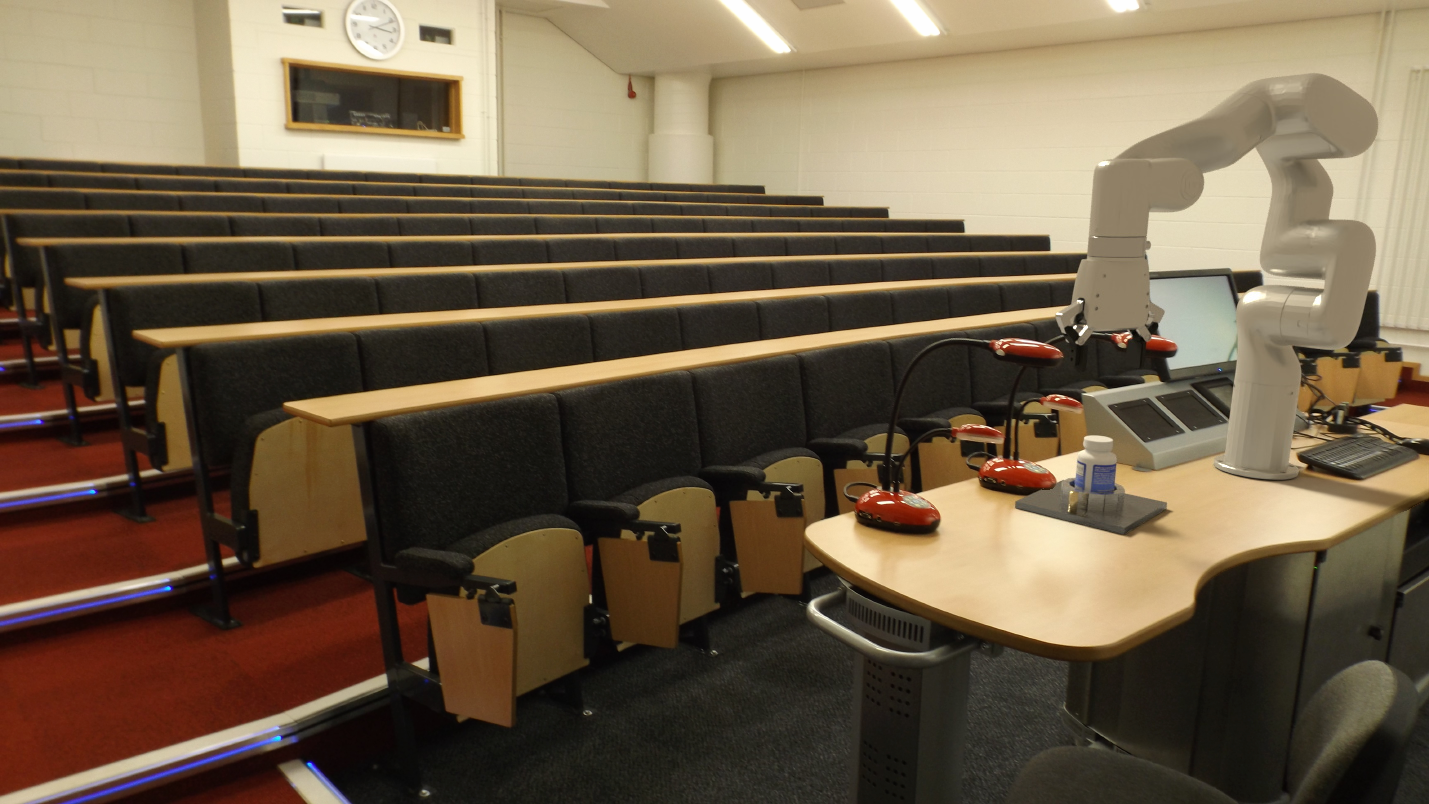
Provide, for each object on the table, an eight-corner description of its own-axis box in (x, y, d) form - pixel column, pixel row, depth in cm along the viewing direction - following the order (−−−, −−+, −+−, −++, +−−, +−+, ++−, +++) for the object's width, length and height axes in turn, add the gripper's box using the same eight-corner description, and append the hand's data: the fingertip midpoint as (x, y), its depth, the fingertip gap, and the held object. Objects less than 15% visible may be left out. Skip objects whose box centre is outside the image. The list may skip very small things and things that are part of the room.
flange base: (1062, 485, 147) (1064, 461, 147) (1166, 508, 136) (1169, 483, 136) (1014, 507, 136) (1017, 482, 136) (1123, 534, 125) (1126, 507, 124)
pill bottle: (1118, 501, 136) (1124, 438, 134) (1105, 509, 132) (1111, 444, 130) (1081, 493, 140) (1087, 432, 138) (1067, 501, 136) (1073, 438, 134)
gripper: (1149, 247, 134) (1138, 362, 138) (1046, 249, 130) (1038, 368, 134) (1187, 249, 127) (1175, 370, 131) (1080, 252, 123) (1070, 377, 126)
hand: (1105, 369), depth 132 cm, fingers open, 9 cm apart
